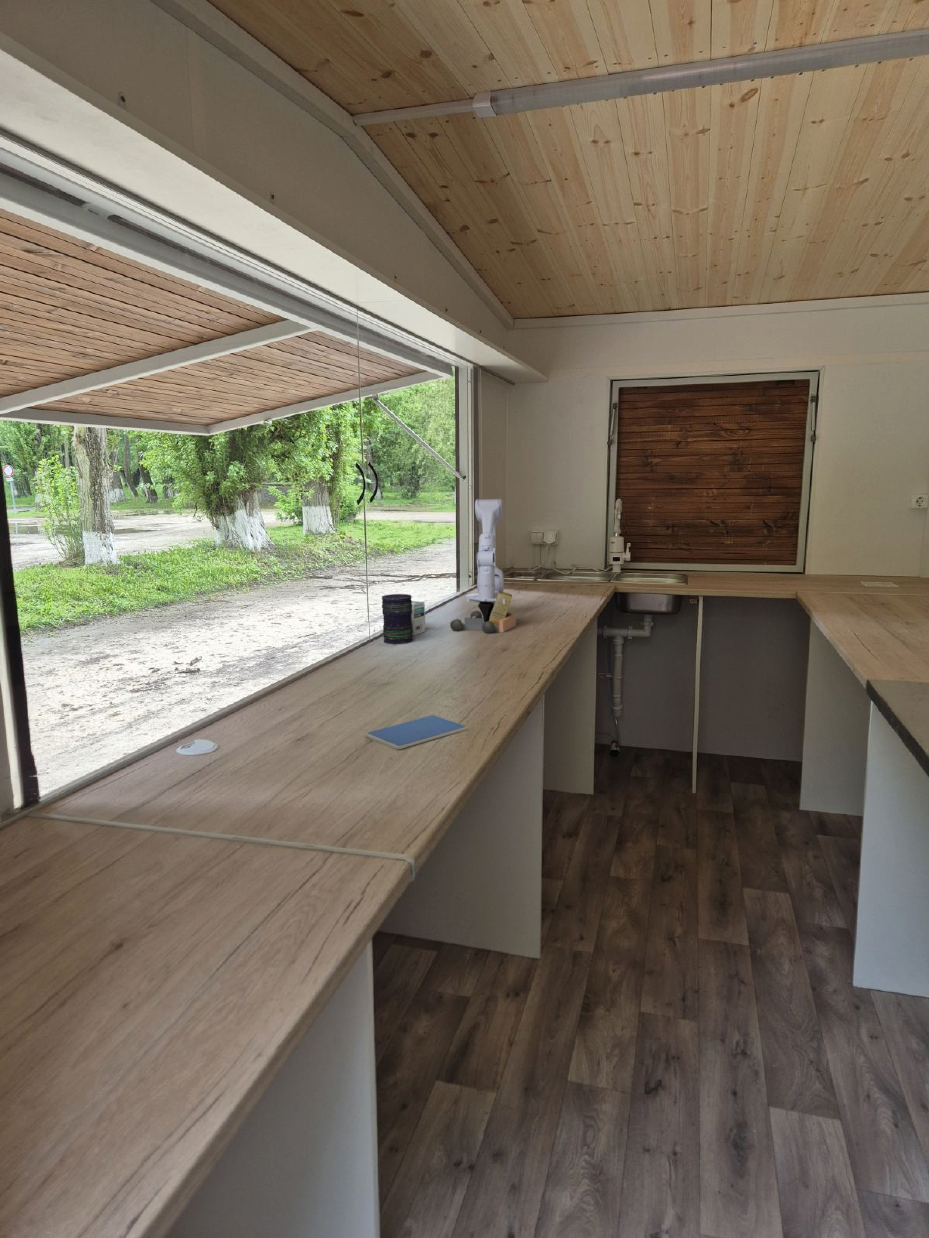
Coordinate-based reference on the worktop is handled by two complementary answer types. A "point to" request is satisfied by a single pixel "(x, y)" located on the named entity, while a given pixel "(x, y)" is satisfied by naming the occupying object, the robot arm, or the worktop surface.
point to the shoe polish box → (500, 607)
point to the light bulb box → (418, 617)
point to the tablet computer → (415, 732)
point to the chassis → (487, 627)
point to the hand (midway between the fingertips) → (487, 623)
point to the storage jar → (397, 619)
